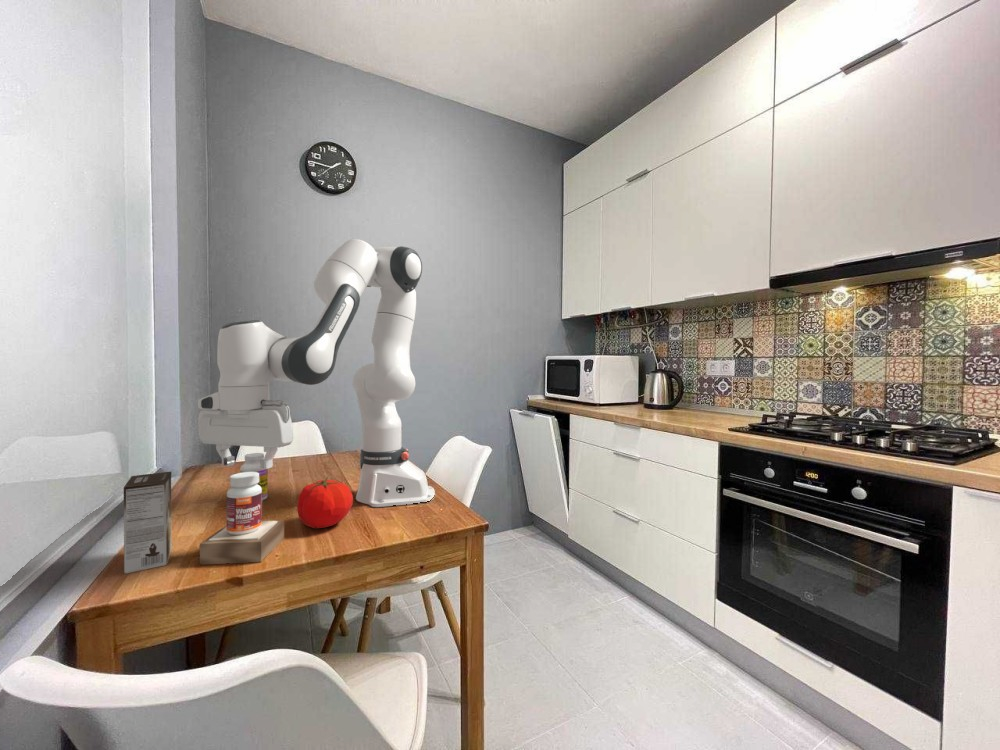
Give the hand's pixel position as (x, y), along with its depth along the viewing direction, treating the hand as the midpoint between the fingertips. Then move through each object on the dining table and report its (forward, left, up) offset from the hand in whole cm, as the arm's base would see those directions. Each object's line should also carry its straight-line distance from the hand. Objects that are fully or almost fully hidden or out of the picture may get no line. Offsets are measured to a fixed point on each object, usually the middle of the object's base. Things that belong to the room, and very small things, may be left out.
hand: (247, 466), depth 84 cm
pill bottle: (0, 0, -13) cm, 13 cm away
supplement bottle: (+13, -33, -18) cm, 39 cm away
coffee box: (+16, +3, -18) cm, 24 cm away
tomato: (-12, -13, -18) cm, 25 cm away
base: (0, 0, -17) cm, 17 cm away
